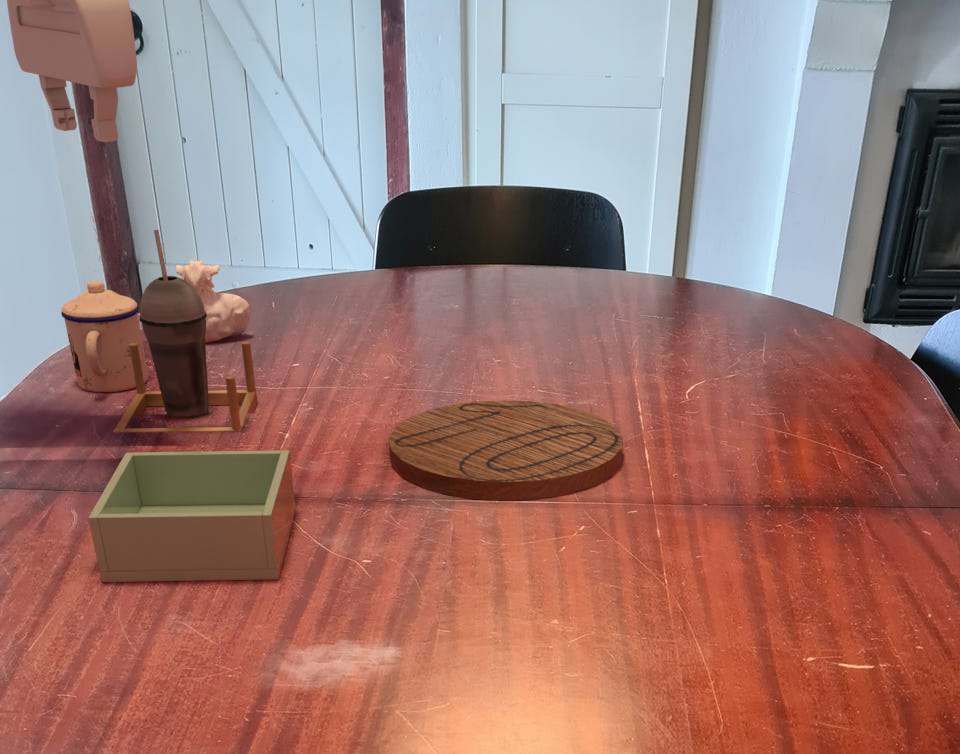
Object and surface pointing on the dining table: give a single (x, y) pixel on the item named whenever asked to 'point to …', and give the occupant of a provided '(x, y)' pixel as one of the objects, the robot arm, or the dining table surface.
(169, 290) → the beverage cup
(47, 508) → the dining table surface
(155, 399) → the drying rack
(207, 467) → the open box
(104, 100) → the robot arm
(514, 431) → the trivet
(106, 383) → the teacup with lid
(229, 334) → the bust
